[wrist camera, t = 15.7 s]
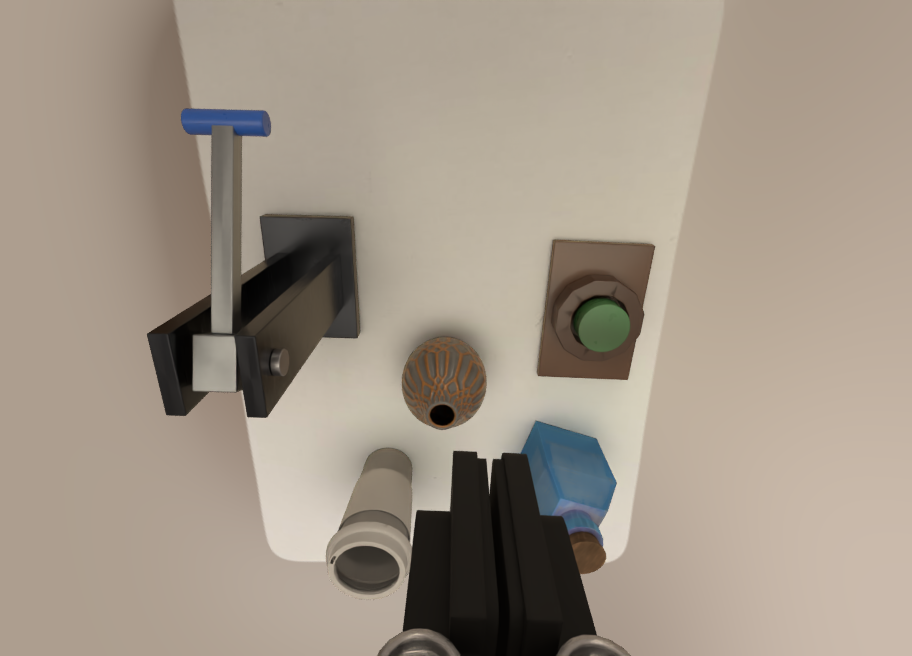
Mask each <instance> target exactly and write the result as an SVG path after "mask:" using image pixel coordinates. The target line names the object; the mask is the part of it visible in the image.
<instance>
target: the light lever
mask: <svg viewBox="0 0 912 656" xmlns="http://www.w3.org/2000/svg"><path fill="white" fill-rule="evenodd" d="M181 121H182V125H183V128H184V130H185V131H186V132H187V133H188V134H191V135H212V155H211V333H204V334H194V335H193V336H192V391H194V392H234V393H236V392H238V391H241V390H243V388H242V382H241V376H240V369H239V363H238V357H237V351H236V345H235V339H234V336H235V335H236V334H237V333H238V332H239V331H240V330H241V223H242V136H263V137H267V136H269V135H270V133H271V122H270V118H269V115H268V113H267V112H266V111H263V110H225V109H184V110H183V111H182V113H181Z"/></svg>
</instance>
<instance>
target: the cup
mask: <svg viewBox="0 0 912 656" xmlns="http://www.w3.org/2000/svg"><path fill="white" fill-rule="evenodd" d="M411 483H412V464H411V461H410V459H409V458H408V457H407V456H406V455H405V454H404V453H403V452H401V451H399V450H396V449H391V448H383V449H379V450H377V451H375V452H373V453H372V454H371V455H370V456H369V457H368V458H367V460H366V463H365V465H364V468H363V471H362V473H361V476H360V478H359V479H358V481H357V483H356V485H355V488H354V490H353V493H352V496H351V498H350V501H349V503H348V506H347V509H346V511H345V514H344V516H343V519H342V522H341V524H340V527H339V530H338V532H337V533H336V534H335V535H334V536H333V537H332V538H331V540H330V542H329V544H328V546H327V550H326V562H327V567H328V575H329V578H330V580H331V582H332V583H333V585H334V586H335V587H336V588H337V589H338V590H340V591H341V592H343V593H344V594H346V595H348V596H350V597H353V598H357V599H363V600H375V599H380V598H384V597H387V596H389V595H390V594H392V593H394V592H395V591H396V590H397V589H399V587H400V586H401V585H402V583H403V581H404V579H405V577H406V576H407V575H408V573H409V571H410V563H411V554H412V546H411V544H410V532H411V512H412V487H411Z"/></svg>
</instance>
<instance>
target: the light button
mask: <svg viewBox="0 0 912 656" xmlns="http://www.w3.org/2000/svg"><path fill="white" fill-rule="evenodd" d="M574 329H575V332H576V334H577V335H578V337H579V339H580V340H581V342H582V343H583V345H584V346H585V347H587V348H588V349H590V350H593V351H596V352H607V351H611V350H613V349H615V348H617V347H619V346H620V345H621V344H622V343H623V342H624V341H625V340H626V338H627V336H628V334H629V331H630V320H629V317H628V315H627V314H626V312H625V311H624V310H623V309H622V308H621V307H620V306H619V305H618V304H617V303H616V302H615V301H613V300H611V299H608V298H594V299H591V300H589V301H587V302H585V303H584V304H583V305H582V306H581V307H580V308H579V309H578V311H577V312H576V314H575V317H574Z"/></svg>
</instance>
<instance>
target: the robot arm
mask: <svg viewBox="0 0 912 656" xmlns="http://www.w3.org/2000/svg"><path fill="white" fill-rule="evenodd" d="M378 656H631V655H630V654H629V653H628V652H627V651H626V650H625V649H624V648H622V647H621V646H619V645H617V644H616V643H614V642H613V641H611V640H609V639H606V638H603V637H600V636H597V634H596V631H595V627H594V623H593V619H592V616H591V613H590V609H589V605H588V602H587V598H586V594H585V591H584V587H583V584H582V580H581V576H580V573H579V569H578V566H577V562H576V558H575V555H574V551H573V548H572V544H571V541H570V537H569V533H568V530H567V526H566V523H565V520H564V518H563V517H562V516H551V515H540V511H539V507H538V502H537V498H536V493H535V488H534V484H533V479H532V475H531V470H530V465H529V461H528V457H527V454H517V453H502V456H501V459H493V462H492V473H491V484H490V495H489V486H488V474H487V462H486V459H480V458H477V452H468V451H453V466H452V486H451V505H450V511H424V510H417V512H416V519H415V528H414V537H413V546H412V554H411V563H410V572H409V581H408V590H407V598H406V607H405V616H404V625H403V632H401V633H399V634H398V635H396V636H395V637H393V638H392V639H390V640H389V641H388V642H387V643H386V644H385V646H383V648H382V649H381V650H380V651H379V653H378Z"/></svg>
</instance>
